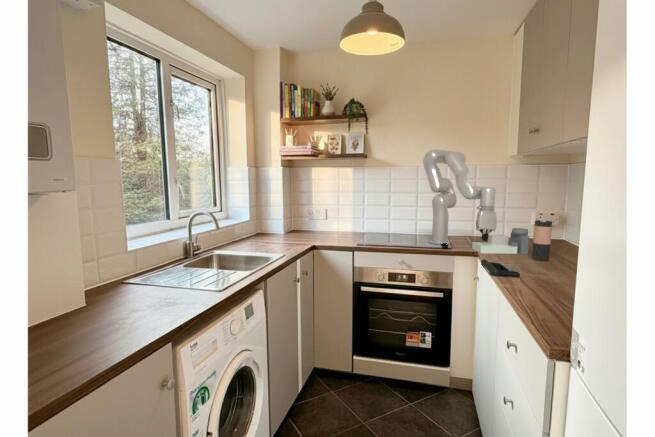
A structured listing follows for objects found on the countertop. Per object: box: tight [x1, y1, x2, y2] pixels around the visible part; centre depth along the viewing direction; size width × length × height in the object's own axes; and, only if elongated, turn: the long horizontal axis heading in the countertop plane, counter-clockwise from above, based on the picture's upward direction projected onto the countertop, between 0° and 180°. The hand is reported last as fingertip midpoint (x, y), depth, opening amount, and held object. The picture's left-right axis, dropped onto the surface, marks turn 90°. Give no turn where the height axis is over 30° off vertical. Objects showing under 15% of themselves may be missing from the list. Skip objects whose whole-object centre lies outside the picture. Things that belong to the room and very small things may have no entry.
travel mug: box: [532, 219, 553, 262], centre depth 172 cm, size 8×8×20 cm
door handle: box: [480, 258, 521, 278], centre depth 150 cm, size 3×20×16 cm
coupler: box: [471, 227, 530, 255], centre depth 191 cm, size 12×28×13 cm, turn 89°
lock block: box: [487, 234, 510, 246], centre depth 191 cm, size 6×9×5 cm, turn 82°
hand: (484, 240), depth 192 cm, fingers closed
